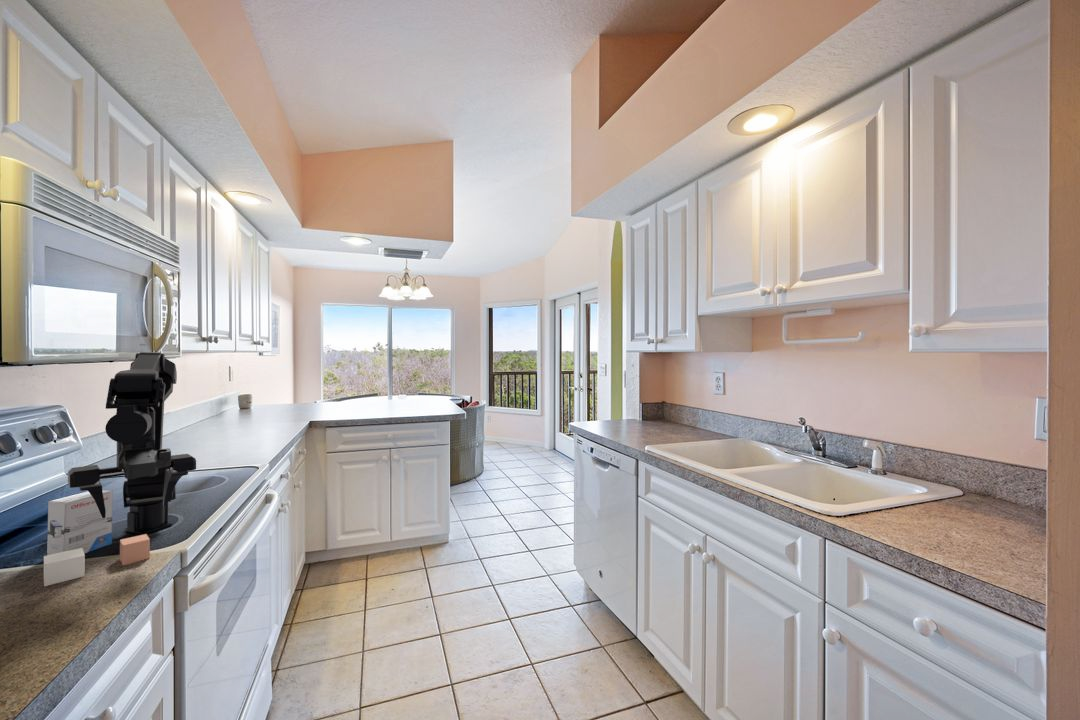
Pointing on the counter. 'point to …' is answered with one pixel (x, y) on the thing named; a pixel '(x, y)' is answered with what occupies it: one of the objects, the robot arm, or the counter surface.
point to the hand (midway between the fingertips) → (135, 511)
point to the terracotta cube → (134, 549)
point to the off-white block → (64, 566)
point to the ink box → (79, 523)
